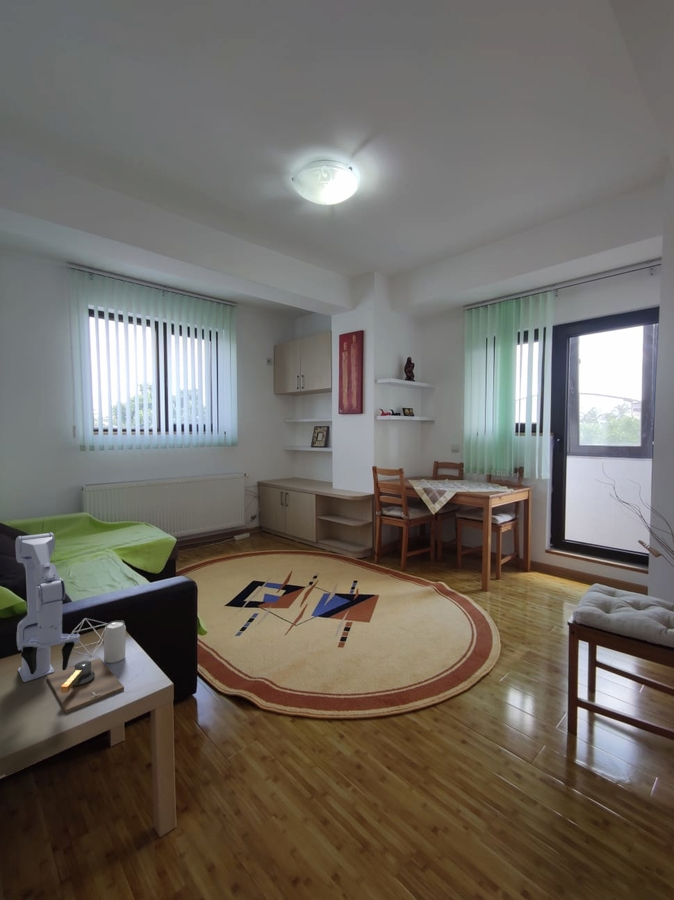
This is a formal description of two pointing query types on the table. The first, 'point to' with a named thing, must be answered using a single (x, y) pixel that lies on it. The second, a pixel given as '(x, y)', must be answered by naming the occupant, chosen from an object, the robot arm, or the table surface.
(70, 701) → the stand
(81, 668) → the lever door handle
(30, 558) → the robot arm
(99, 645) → the geometric polyhedron
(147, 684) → the table surface
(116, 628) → the can
